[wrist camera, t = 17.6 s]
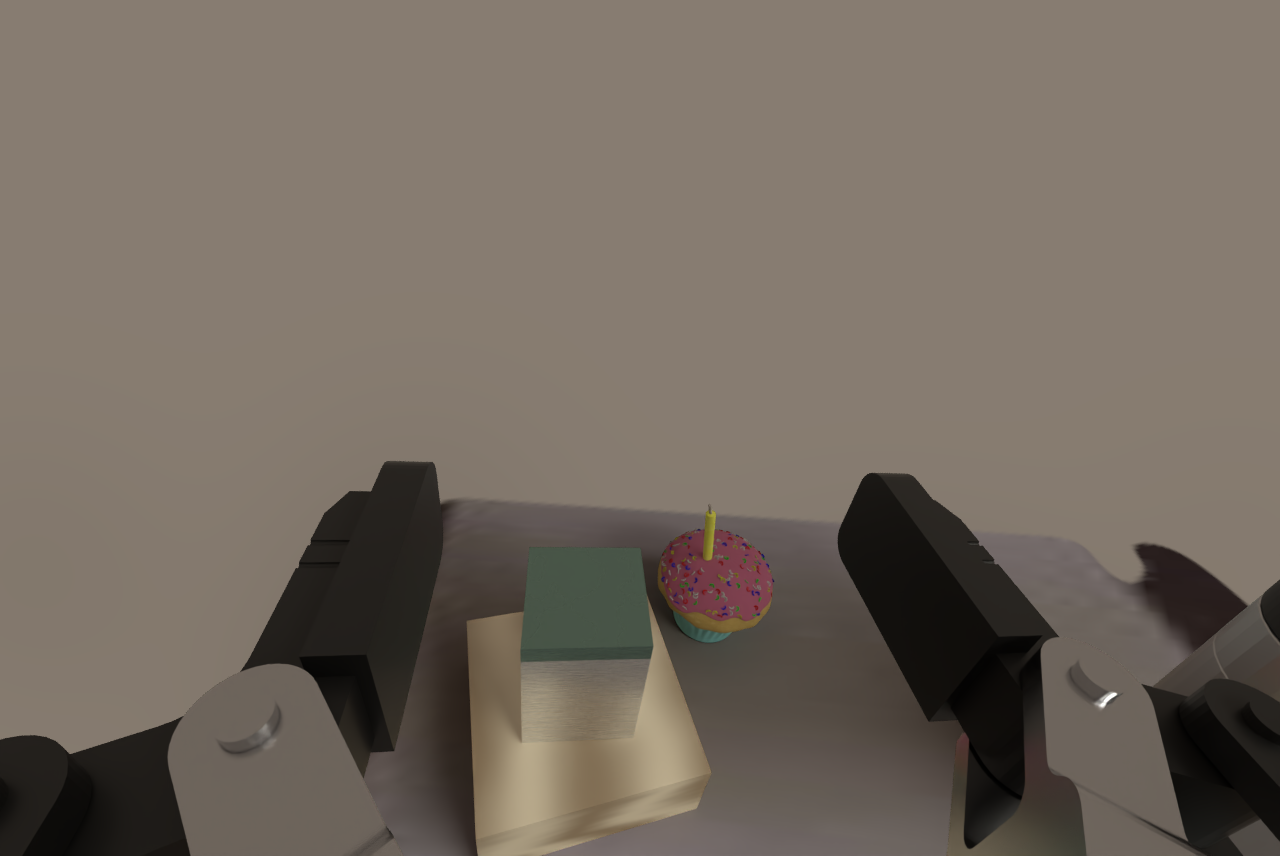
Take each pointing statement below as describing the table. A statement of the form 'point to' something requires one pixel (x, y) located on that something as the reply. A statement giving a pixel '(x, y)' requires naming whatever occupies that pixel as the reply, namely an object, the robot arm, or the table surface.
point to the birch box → (572, 756)
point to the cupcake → (714, 582)
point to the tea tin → (583, 644)
